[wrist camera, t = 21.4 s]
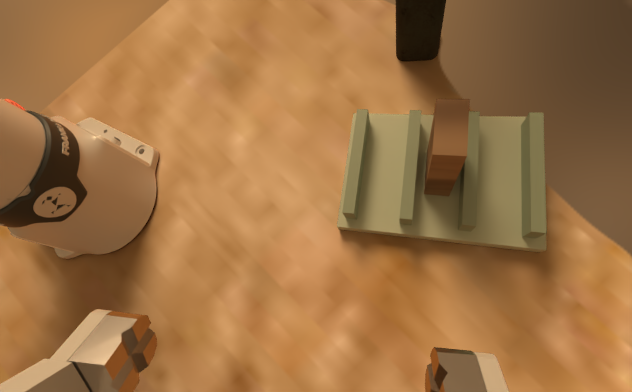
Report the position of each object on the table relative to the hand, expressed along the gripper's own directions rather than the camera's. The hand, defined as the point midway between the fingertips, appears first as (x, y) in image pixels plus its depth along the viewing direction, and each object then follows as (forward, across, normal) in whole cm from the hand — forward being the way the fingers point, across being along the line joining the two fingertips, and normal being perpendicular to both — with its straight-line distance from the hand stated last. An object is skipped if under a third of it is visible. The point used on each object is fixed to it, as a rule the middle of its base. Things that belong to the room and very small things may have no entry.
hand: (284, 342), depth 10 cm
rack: (+29, -11, +9) cm, 32 cm away
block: (+28, -10, +8) cm, 30 cm away
